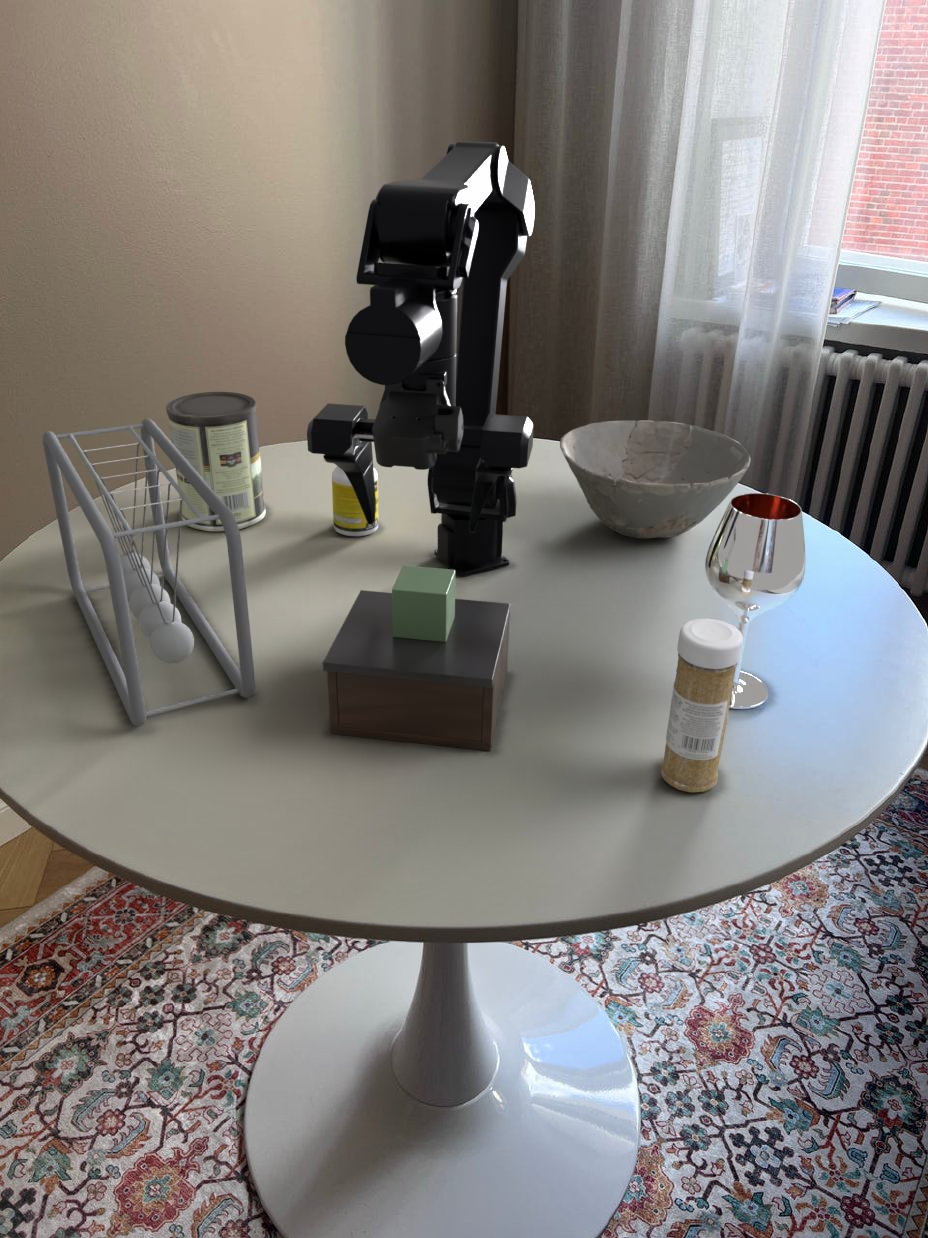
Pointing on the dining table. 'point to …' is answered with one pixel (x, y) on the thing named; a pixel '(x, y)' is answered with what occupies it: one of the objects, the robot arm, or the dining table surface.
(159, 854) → the dining table surface
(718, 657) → the sprinkles bottle
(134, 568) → the newton's cradle
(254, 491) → the coffee can
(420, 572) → the block
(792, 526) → the wineglass
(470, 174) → the robot arm
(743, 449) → the ceramic bowl
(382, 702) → the walnut box
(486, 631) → the lid
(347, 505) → the supplement bottle
